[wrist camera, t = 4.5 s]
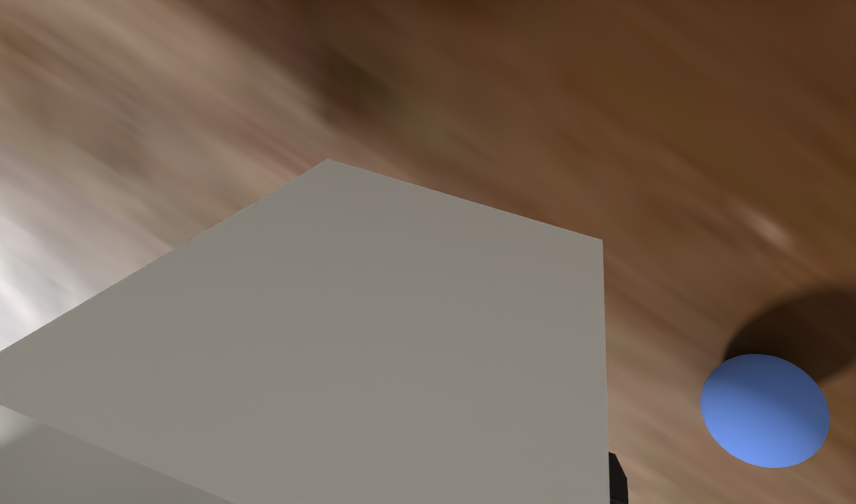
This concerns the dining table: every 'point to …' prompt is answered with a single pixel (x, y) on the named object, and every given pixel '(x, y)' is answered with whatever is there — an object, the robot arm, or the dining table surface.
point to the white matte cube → (325, 362)
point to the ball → (765, 410)
